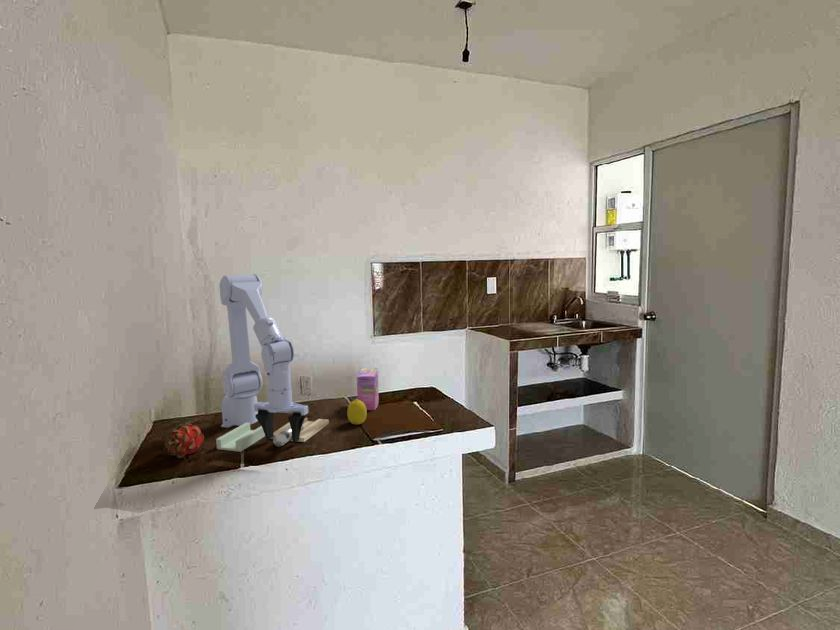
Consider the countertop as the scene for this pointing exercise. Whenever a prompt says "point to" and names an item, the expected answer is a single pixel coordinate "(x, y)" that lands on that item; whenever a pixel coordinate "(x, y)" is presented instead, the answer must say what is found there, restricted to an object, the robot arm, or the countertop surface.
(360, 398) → the box
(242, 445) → the cradle
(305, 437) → the grooved wooden board
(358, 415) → the lemon
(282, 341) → the robot arm
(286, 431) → the axle
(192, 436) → the dragon fruit
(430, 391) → the countertop surface
